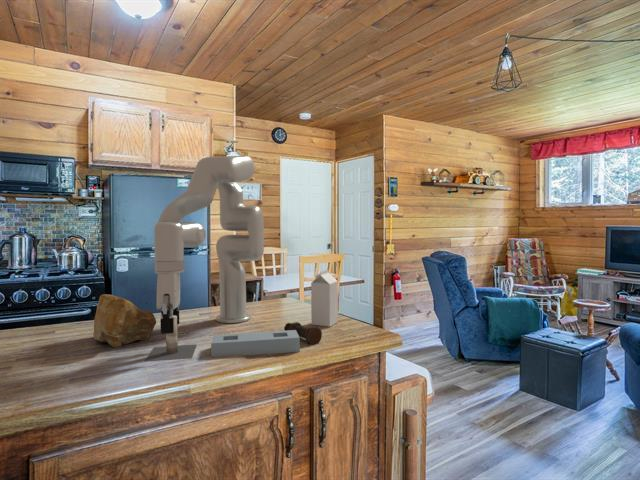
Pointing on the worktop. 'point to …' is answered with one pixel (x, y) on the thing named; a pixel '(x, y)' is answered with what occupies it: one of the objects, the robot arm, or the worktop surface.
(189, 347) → the mat
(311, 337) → the bolt
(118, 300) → the rough brown rock
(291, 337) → the hole block
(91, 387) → the worktop surface
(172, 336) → the peg
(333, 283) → the milk carton
